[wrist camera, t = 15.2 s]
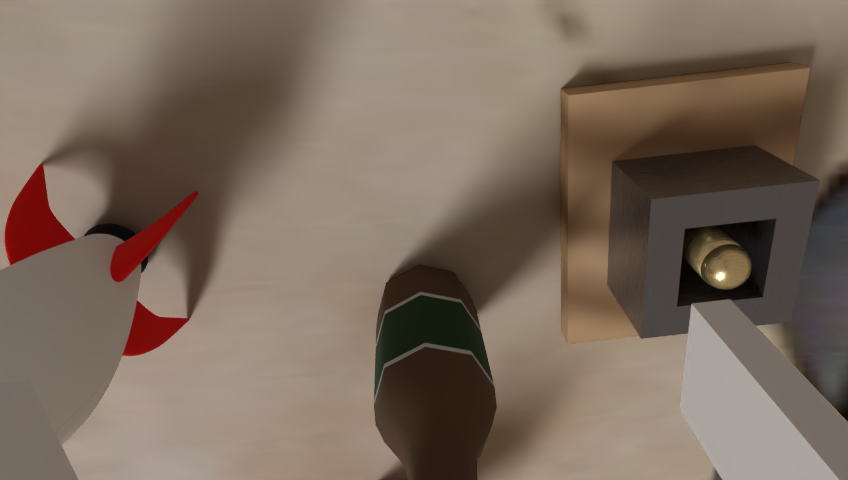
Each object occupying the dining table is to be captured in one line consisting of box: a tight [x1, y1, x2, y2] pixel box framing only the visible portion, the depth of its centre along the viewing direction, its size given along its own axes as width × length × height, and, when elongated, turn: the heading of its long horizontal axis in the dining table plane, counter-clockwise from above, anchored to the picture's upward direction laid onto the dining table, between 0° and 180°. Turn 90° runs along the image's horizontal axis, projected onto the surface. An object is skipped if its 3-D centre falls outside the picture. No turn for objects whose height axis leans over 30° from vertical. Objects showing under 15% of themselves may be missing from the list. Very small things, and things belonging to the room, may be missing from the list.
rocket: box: [0, 163, 198, 446], centre depth 34 cm, size 11×11×25 cm
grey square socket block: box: [607, 145, 820, 339], centre depth 41 cm, size 10×10×7 cm
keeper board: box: [561, 63, 810, 344], centre depth 45 cm, size 20×16×2 cm
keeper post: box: [682, 225, 752, 289], centre depth 41 cm, size 3×3×8 cm
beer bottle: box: [374, 265, 497, 480], centre depth 38 cm, size 8×8×24 cm
